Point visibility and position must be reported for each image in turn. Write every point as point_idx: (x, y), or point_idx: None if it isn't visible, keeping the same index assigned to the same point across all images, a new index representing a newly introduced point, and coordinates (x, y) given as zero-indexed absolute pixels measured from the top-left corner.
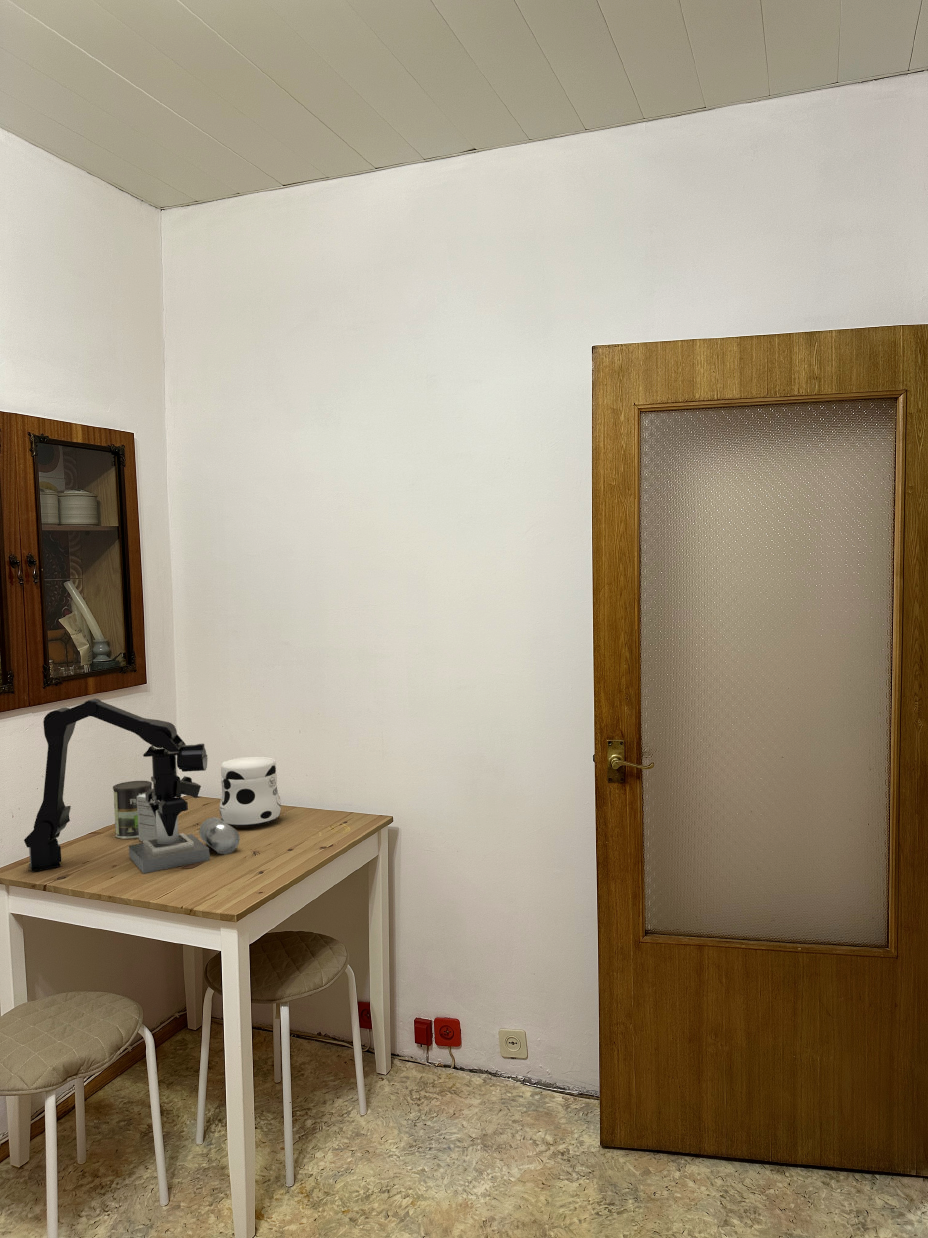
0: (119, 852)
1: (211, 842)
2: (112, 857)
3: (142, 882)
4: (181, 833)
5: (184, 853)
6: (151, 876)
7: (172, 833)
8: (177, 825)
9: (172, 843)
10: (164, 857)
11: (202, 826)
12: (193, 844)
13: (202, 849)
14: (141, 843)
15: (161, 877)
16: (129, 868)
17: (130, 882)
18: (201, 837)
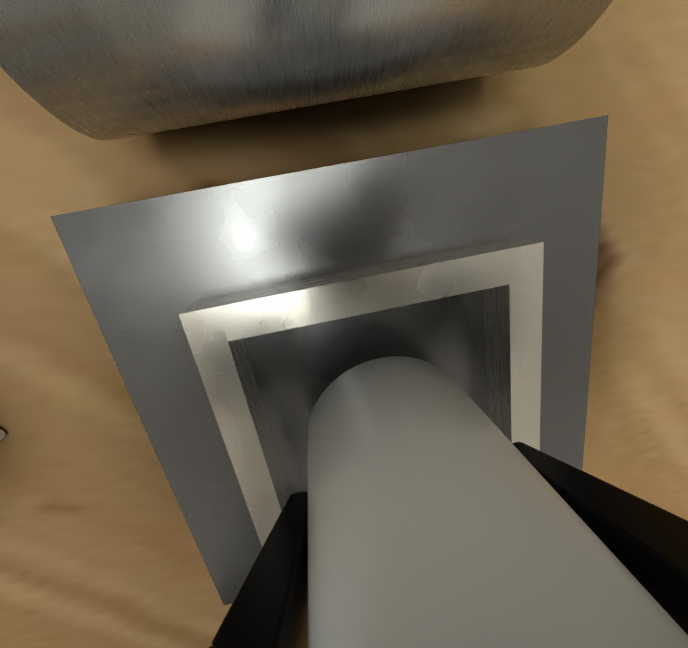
0: (123, 583)
1: (521, 63)
2: (202, 598)
3: (641, 467)
4: (188, 327)
5: (592, 311)
6: (592, 439)
7: (541, 456)
8: (499, 450)
9: (303, 381)
10: (583, 424)
11: (88, 67)
12: (530, 241)
13: (601, 175)
14: (205, 553)
15: (637, 402)
16: None
17: None
18: (161, 130)
